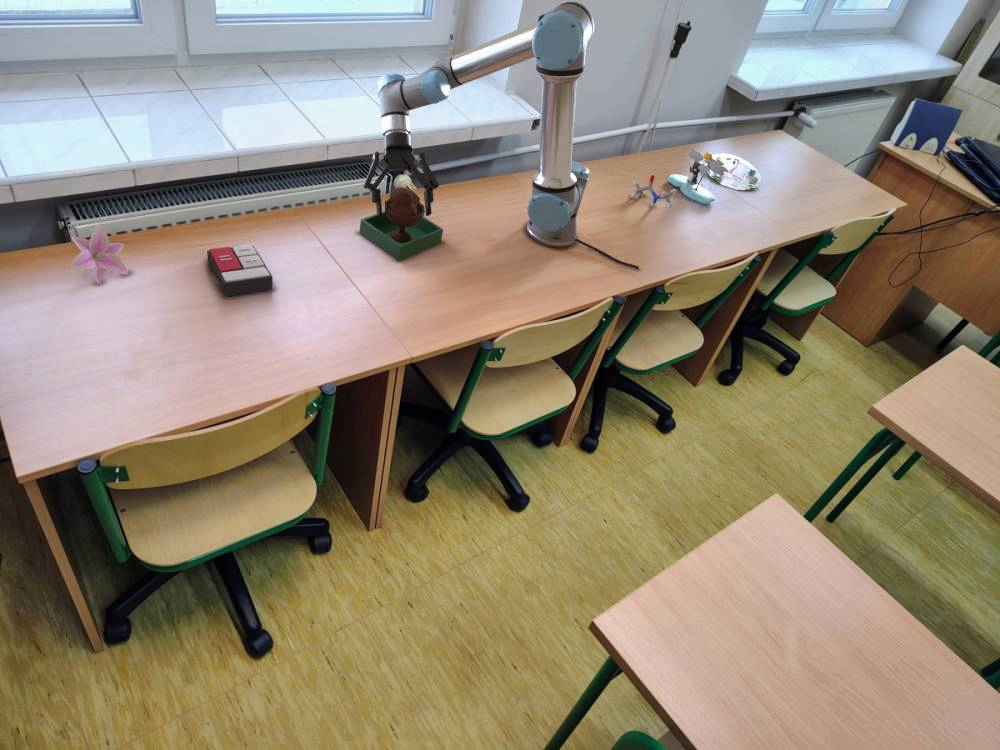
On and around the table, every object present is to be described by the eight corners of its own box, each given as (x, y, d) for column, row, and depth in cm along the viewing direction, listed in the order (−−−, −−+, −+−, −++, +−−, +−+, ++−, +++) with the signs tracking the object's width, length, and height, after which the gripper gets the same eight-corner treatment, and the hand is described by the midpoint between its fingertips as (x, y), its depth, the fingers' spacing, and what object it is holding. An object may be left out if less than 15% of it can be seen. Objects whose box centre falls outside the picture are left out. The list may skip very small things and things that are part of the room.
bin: (441, 242, 198) (443, 229, 195) (398, 260, 187) (400, 246, 185) (402, 216, 204) (404, 203, 201) (359, 233, 193) (360, 219, 190)
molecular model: (674, 215, 241) (686, 187, 236) (661, 216, 235) (673, 187, 230) (634, 195, 250) (644, 167, 245) (620, 194, 244) (631, 166, 239)
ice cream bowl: (414, 252, 191) (422, 203, 181) (375, 240, 191) (380, 190, 182) (425, 233, 199) (433, 185, 189) (387, 222, 199) (393, 173, 190)
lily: (64, 289, 155) (75, 265, 149) (58, 243, 158) (68, 219, 152) (124, 293, 163) (136, 271, 157) (116, 249, 167) (128, 226, 161)
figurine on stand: (661, 179, 260) (677, 140, 250) (682, 177, 265) (698, 139, 256) (697, 207, 249) (714, 168, 239) (718, 205, 254) (736, 166, 244)
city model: (697, 184, 269) (704, 170, 264) (697, 152, 284) (703, 139, 280) (760, 202, 269) (768, 189, 265) (756, 170, 285) (764, 156, 280)
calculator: (253, 241, 174) (272, 274, 165) (253, 256, 177) (273, 289, 168) (206, 247, 168) (224, 281, 159) (207, 262, 171) (225, 297, 162)
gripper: (436, 142, 198) (444, 217, 198) (347, 138, 188) (355, 218, 188) (445, 132, 191) (453, 211, 191) (353, 128, 181) (361, 211, 181)
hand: (404, 214), depth 190 cm, fingers open, 13 cm apart
